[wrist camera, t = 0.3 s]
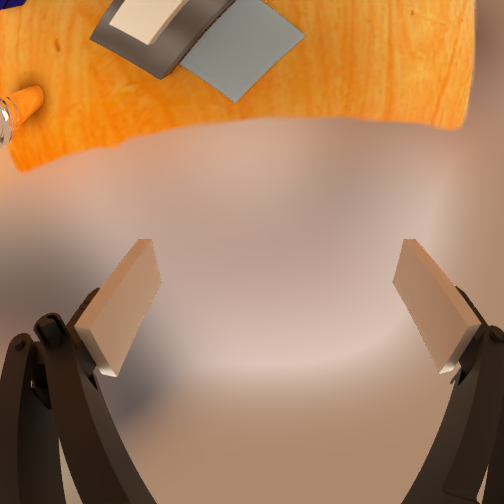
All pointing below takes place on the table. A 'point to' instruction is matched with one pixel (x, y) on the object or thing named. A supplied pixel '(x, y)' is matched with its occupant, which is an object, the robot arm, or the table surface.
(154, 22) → the tile
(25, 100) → the cup with straw
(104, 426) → the robot arm
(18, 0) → the puzzle cube
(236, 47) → the mat
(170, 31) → the grey flat block
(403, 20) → the table surface
